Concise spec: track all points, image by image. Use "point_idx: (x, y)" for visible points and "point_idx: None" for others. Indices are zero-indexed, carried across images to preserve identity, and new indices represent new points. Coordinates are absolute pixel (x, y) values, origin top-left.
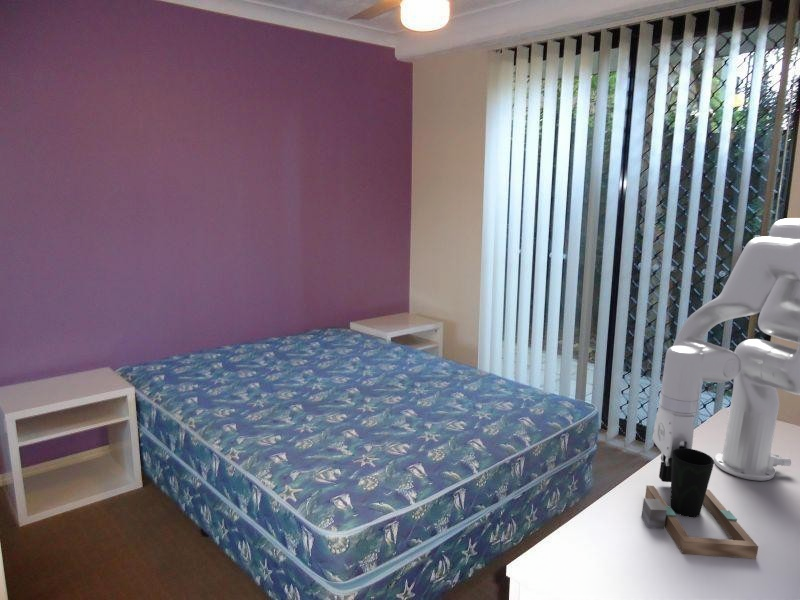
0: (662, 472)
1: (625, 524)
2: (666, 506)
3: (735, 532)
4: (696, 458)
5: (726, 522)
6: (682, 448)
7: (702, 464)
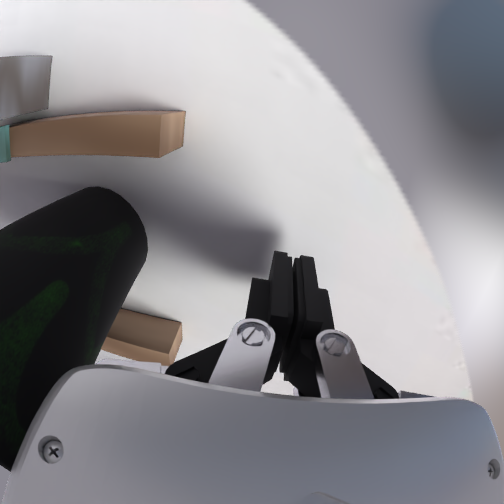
0: (275, 278)
1: (28, 8)
2: (5, 147)
3: None
4: None
5: None
6: (9, 470)
7: None
